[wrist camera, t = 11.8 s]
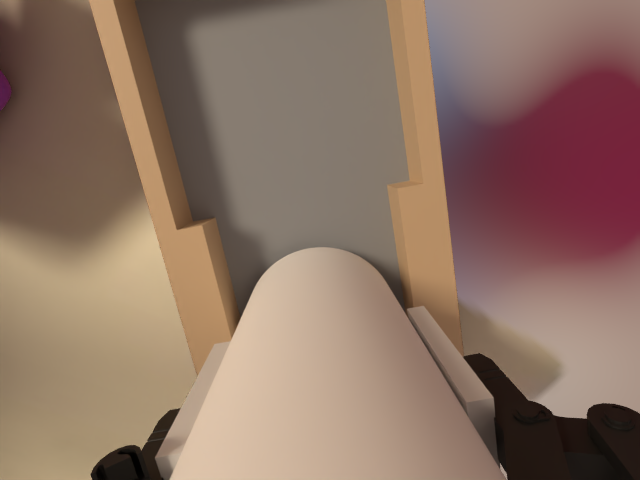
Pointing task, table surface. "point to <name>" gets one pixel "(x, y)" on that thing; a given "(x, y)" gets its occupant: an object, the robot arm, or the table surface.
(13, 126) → the table surface
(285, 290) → the cup
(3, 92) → the toy camera
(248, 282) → the board
